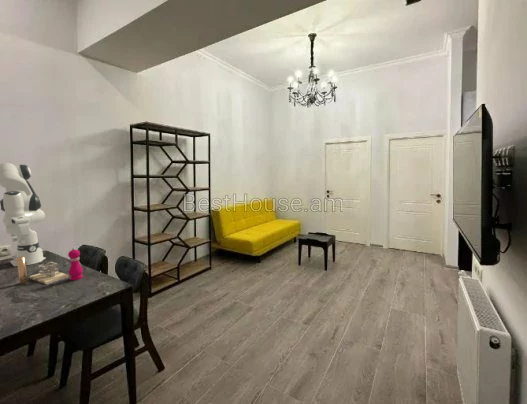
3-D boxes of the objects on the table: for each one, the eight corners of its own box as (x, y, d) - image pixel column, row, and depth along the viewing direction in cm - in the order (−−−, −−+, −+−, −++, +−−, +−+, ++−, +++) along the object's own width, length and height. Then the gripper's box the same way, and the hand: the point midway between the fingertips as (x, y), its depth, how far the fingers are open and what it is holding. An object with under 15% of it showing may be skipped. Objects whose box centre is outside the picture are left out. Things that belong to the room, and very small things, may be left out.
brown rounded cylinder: (18, 283, 160) (15, 257, 158) (26, 281, 163) (23, 256, 161) (21, 284, 158) (18, 258, 156) (29, 282, 161) (26, 256, 159)
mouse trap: (30, 278, 167) (28, 264, 166) (52, 271, 178) (50, 258, 177) (46, 284, 158) (44, 269, 157) (68, 277, 169) (67, 263, 167)
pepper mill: (76, 281, 162) (73, 249, 160) (66, 280, 163) (63, 248, 161) (86, 276, 169) (83, 246, 167) (76, 275, 170) (73, 245, 168)
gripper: (0, 218, 158) (4, 241, 159) (16, 221, 148) (19, 245, 150) (14, 217, 163) (17, 239, 165) (30, 219, 154) (33, 242, 155)
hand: (18, 242), depth 157 cm, fingers open, 8 cm apart
